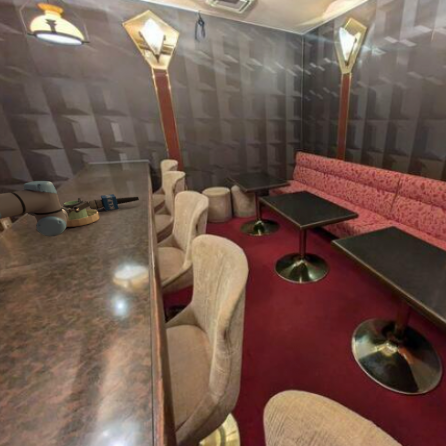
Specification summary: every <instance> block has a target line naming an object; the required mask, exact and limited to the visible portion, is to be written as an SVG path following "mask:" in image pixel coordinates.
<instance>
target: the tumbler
mask: <svg viewBox="0 0 446 446" xmlns="http://www.w3.org/2000/svg"><path fill="white" fill-rule="evenodd" d="M77 202H78V199H77V200H69V201H65V202H63V203H62V206H64V205H71V204H74V203H77ZM86 209H87V208H85V209H83V210H81V211H80V212H78V213H76V212H75V211H72V212H71V213H69V217H68V220H73V219H80V218H85V217H88V215H87V212H86Z"/></svg>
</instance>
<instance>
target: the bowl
mask: <svg viewBox="0 0 446 446" xmlns="http://www.w3.org/2000/svg"><path fill="white" fill-rule="evenodd" d="M85 209H86V212H87V215H88V217H85V218H80V219H73V220H68V221H67V226H66V228H73V227H81V226H86V225H90V224H93V223H94V222H97V221H99V219H100V218H101V217H100V213H99V211H98V209H91V208H89V209H88V208H85Z"/></svg>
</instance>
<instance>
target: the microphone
mask: <svg viewBox="0 0 446 446" xmlns="http://www.w3.org/2000/svg"><path fill="white" fill-rule="evenodd" d="M137 201H140V197H139V196H128V197H116V195H115V194H114V193H109V194H103V195H100V199H91V200H89V201H88V203H89V209H91V210H100V209H104V211H105V212H107V211H113V210H120V209H119V205H123V204H127V203H132V202H137Z"/></svg>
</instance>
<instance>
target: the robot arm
mask: <svg viewBox="0 0 446 446" xmlns="http://www.w3.org/2000/svg"><path fill="white" fill-rule="evenodd" d="M77 200H78V202H77V203H74V204H71V205H61V203H60V199H59V195H58V191H57V189H56V187H55V185H54V183H53V182H51V181H49V180H35V181H29V182H25V183H24V184H23V189H21V190H15V191H10V192H5V193H0V220H2V219H7V218H11V217H15V216H19V215H23V214H28V215H30V216H33V217H34V218H35V220H36V224H35V225H36V231H37V232H38V233H40V234H41V235H43V236H44V237H57V236H59V235H61V234H62V233H64V231H65V230H66V228H67V227H66V226H67V221H68V217H69V213H71V212H72V211H75V212H76V213H78V212H80V211H81V210H83V209H88V207H89V201H88V200H85V201H84V200H82V198H81V197H78V198H77ZM89 208H90V207H89Z"/></svg>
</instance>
